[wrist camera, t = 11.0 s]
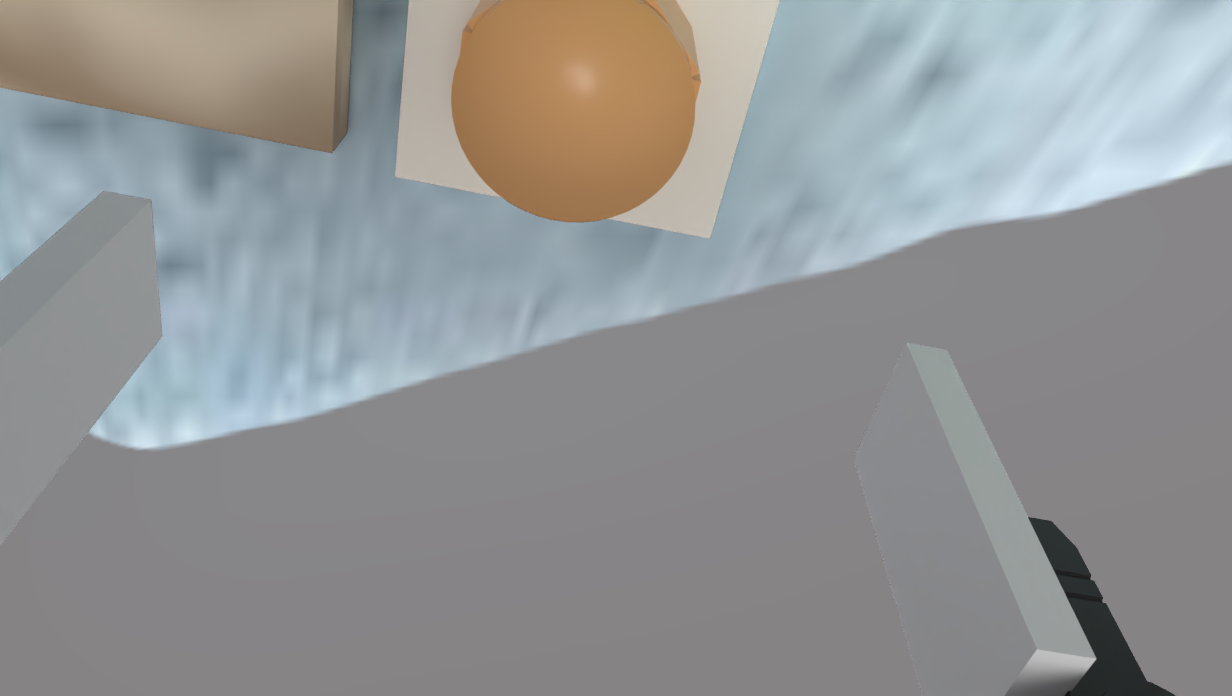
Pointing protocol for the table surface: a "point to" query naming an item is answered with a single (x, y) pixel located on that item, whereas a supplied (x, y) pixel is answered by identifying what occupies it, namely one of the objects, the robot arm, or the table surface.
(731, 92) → the pad
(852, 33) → the table surface
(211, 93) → the post base
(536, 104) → the cap
